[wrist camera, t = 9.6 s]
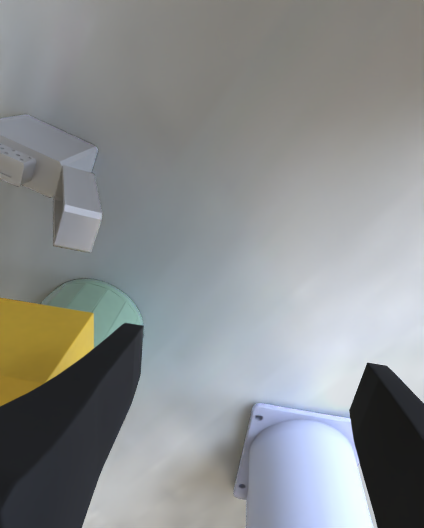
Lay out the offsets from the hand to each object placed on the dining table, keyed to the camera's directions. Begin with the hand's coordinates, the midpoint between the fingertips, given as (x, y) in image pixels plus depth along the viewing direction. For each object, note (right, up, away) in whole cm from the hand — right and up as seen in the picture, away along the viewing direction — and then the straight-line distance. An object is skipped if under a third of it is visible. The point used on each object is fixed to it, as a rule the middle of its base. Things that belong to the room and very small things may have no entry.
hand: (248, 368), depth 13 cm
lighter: (-8, +9, +8) cm, 15 cm away
